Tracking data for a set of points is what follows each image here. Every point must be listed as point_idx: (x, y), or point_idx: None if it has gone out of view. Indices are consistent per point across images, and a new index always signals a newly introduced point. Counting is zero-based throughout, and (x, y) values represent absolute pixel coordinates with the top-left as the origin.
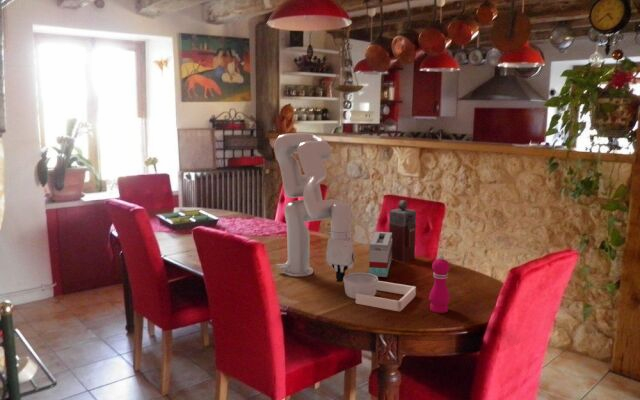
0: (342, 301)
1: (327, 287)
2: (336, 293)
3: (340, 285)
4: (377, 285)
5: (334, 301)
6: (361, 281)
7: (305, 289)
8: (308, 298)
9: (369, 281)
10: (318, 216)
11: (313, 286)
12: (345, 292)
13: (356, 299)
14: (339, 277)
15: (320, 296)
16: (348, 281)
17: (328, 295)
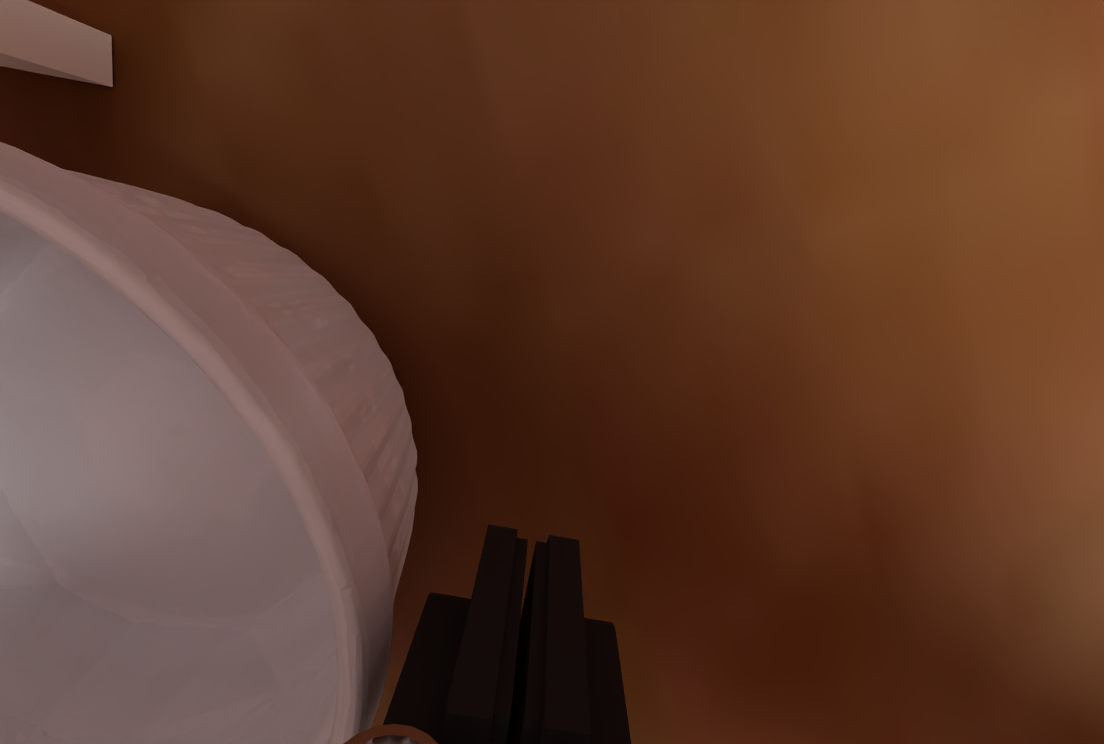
0: (357, 58)
1: (759, 594)
2: (564, 397)
3: None
4: None
5: (489, 9)
6: (179, 738)
7: (1091, 424)
8: (987, 6)
9: (5, 741)
10: None
11: (977, 577)
12: (385, 359)
13: (30, 6)
14: (501, 591)
15: (788, 182)
16: (12, 185)
17: (665, 272)
